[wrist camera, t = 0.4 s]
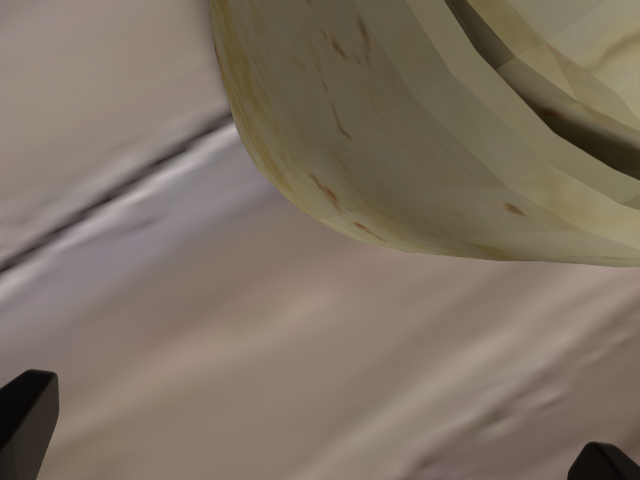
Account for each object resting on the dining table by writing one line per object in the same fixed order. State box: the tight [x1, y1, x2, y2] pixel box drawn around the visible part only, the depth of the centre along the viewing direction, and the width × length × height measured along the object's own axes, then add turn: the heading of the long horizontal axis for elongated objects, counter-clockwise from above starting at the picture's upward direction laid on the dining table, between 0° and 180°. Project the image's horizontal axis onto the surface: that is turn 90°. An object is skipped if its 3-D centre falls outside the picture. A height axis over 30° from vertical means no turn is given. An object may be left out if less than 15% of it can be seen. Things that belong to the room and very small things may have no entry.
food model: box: [209, 0, 640, 267], centre depth 13 cm, size 10×7×20 cm
